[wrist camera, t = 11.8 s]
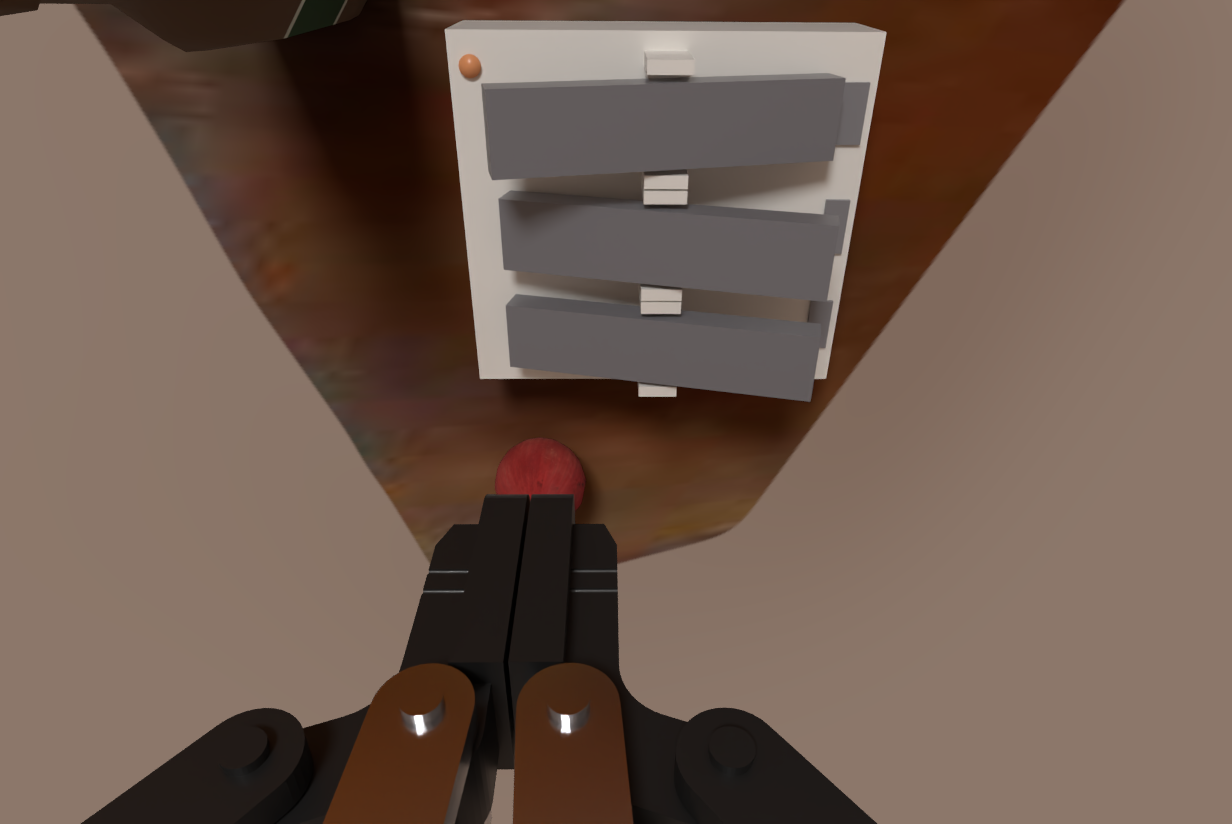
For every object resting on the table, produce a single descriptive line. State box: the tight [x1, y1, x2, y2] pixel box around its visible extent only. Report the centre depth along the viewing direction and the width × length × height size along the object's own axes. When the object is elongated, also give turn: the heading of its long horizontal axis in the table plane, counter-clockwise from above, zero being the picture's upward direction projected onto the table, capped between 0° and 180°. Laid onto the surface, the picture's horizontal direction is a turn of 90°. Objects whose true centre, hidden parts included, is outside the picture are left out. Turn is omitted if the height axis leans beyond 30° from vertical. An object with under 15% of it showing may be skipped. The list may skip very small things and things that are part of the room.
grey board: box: [506, 294, 821, 402], centre depth 39 cm, size 4×16×2 cm, turn 90°
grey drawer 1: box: [481, 73, 846, 180], centre depth 33 cm, size 4×16×2 cm, turn 90°
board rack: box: [445, 20, 886, 397], centre depth 39 cm, size 18×20×8 cm
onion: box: [495, 437, 586, 511], centre depth 49 cm, size 6×6×8 cm
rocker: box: [498, 190, 839, 302], centre depth 36 cm, size 4×16×2 cm, turn 90°
